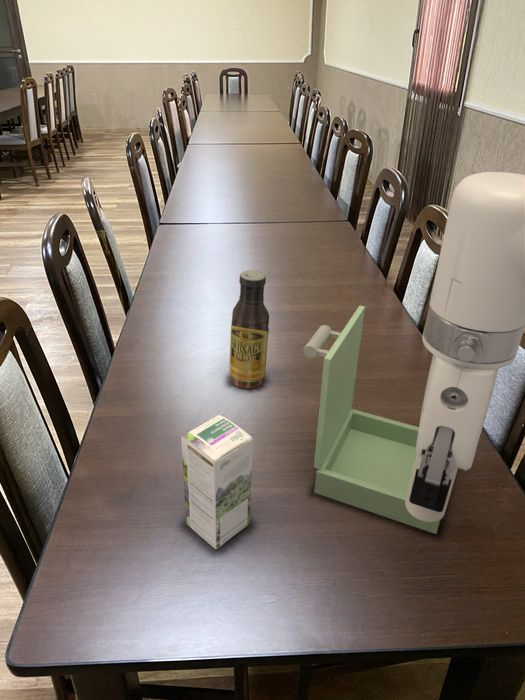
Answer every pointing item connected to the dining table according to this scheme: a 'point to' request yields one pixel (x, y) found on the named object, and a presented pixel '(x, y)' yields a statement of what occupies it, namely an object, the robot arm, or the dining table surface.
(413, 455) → the green open lid box
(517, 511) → the dining table surface
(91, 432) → the dining table surface
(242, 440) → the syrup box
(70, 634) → the dining table surface
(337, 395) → the green box lid
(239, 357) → the sauce bottle
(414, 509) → the cylinder
